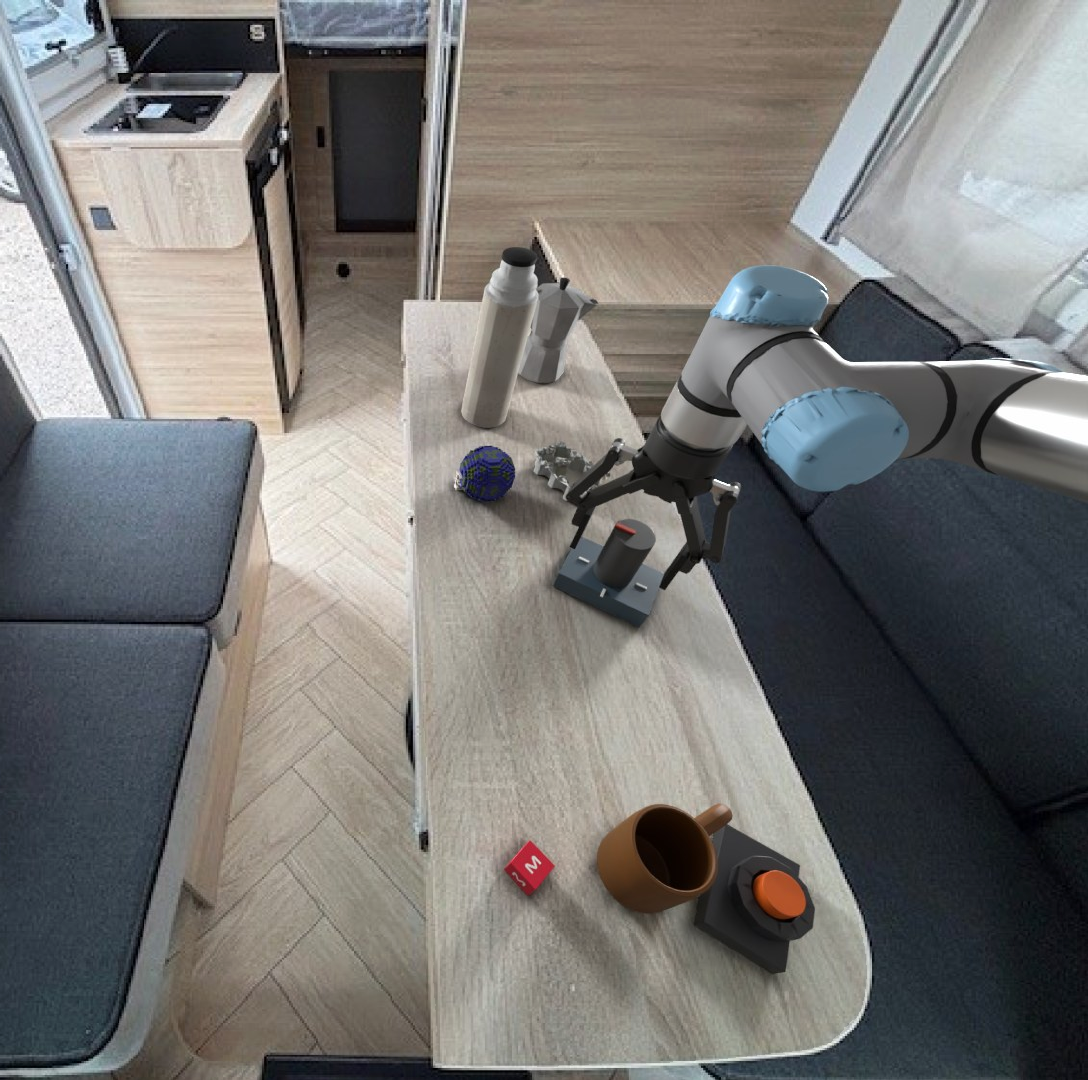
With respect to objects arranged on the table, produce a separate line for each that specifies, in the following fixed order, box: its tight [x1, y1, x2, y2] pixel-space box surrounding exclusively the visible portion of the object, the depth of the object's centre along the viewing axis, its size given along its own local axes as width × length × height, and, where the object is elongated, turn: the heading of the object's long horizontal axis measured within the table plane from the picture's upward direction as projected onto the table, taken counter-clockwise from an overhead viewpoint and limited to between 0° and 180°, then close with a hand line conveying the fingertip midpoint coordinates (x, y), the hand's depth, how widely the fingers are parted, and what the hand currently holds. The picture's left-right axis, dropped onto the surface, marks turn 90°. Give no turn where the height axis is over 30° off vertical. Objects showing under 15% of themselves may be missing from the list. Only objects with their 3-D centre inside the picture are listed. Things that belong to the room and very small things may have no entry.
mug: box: [596, 803, 734, 915], centre depth 55 cm, size 12×8×9 cm, turn 118°
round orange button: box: [753, 871, 806, 919], centre depth 53 cm, size 4×4×2 cm
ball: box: [453, 445, 516, 502], centre depth 89 cm, size 8×8×8 cm
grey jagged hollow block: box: [533, 441, 611, 502], centre depth 92 cm, size 11×8×4 cm
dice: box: [503, 839, 556, 896], centre depth 57 cm, size 3×3×3 cm
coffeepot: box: [518, 276, 599, 384], centre depth 107 cm, size 15×9×18 cm, turn 75°
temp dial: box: [593, 518, 657, 588], centre depth 75 cm, size 5×5×8 cm
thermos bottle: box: [461, 246, 539, 429], centre depth 94 cm, size 8×8×28 cm
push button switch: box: [692, 823, 816, 975], centre depth 55 cm, size 8×10×4 cm
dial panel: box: [552, 536, 665, 629], centre depth 79 cm, size 12×9×3 cm
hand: (618, 561), depth 76 cm, fingers open, 11 cm apart
